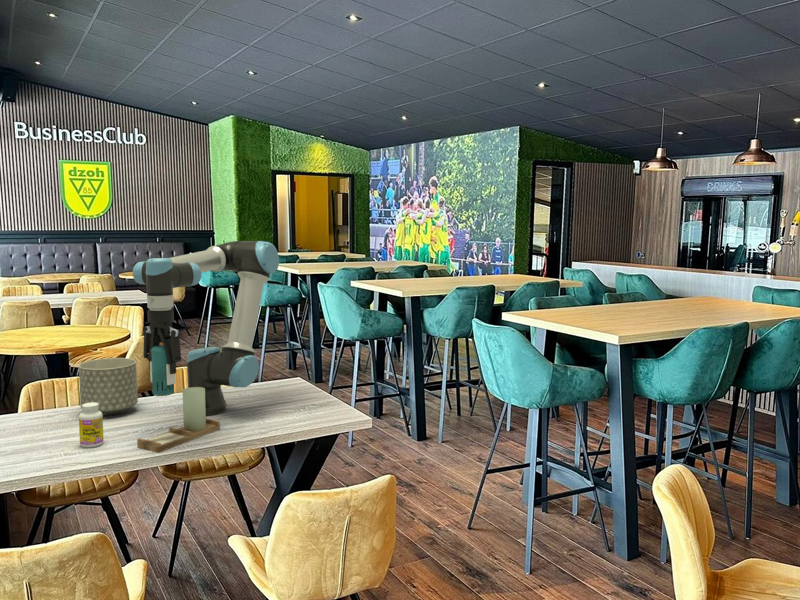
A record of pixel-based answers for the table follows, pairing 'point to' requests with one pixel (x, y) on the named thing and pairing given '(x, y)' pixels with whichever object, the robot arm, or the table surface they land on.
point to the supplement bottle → (91, 425)
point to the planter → (109, 384)
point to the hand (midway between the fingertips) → (163, 382)
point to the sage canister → (194, 409)
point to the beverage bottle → (160, 370)
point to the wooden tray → (175, 437)
